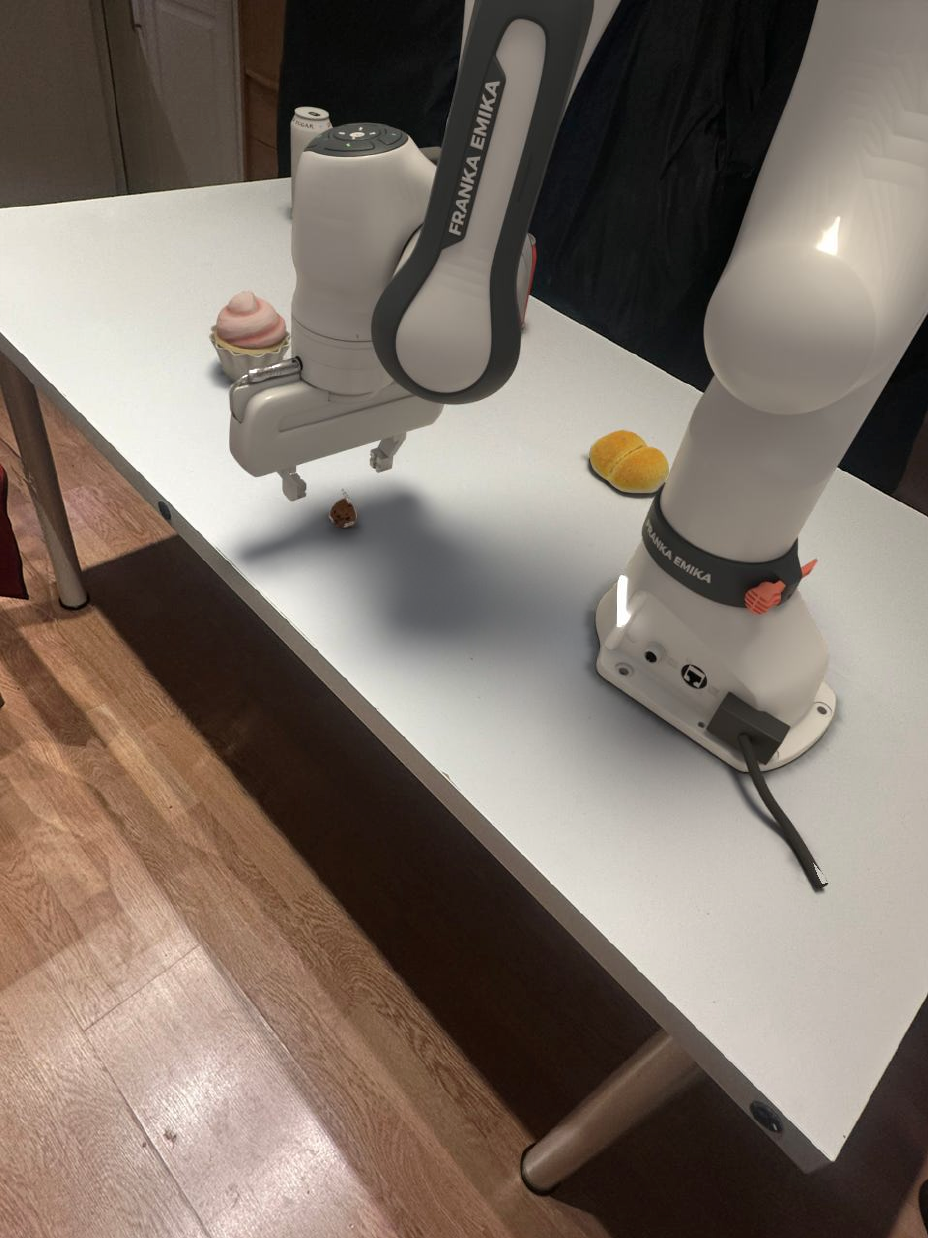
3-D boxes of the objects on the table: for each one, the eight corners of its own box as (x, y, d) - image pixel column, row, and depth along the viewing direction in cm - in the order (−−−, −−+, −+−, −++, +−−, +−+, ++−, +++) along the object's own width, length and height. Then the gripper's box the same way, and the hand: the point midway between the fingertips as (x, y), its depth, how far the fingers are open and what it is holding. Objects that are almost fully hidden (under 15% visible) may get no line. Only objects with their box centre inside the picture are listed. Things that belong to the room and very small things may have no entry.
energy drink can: (310, 208, 132) (310, 102, 121) (338, 221, 130) (341, 115, 119) (283, 217, 128) (281, 109, 117) (312, 230, 126) (313, 121, 116)
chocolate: (322, 518, 81) (323, 486, 78) (343, 512, 82) (344, 480, 79) (337, 537, 79) (338, 504, 76) (357, 531, 80) (359, 498, 77)
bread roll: (633, 506, 89) (644, 476, 86) (575, 462, 93) (584, 433, 90) (680, 482, 93) (692, 453, 91) (623, 442, 98) (632, 412, 95)
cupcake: (301, 392, 95) (300, 309, 88) (218, 397, 92) (211, 312, 85) (284, 350, 101) (283, 270, 94) (206, 354, 98) (198, 271, 91)
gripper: (248, 395, 60) (254, 535, 70) (465, 341, 71) (443, 470, 81) (209, 353, 63) (220, 494, 73) (422, 307, 74) (406, 436, 84)
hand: (338, 481), depth 77 cm, fingers open, 8 cm apart
